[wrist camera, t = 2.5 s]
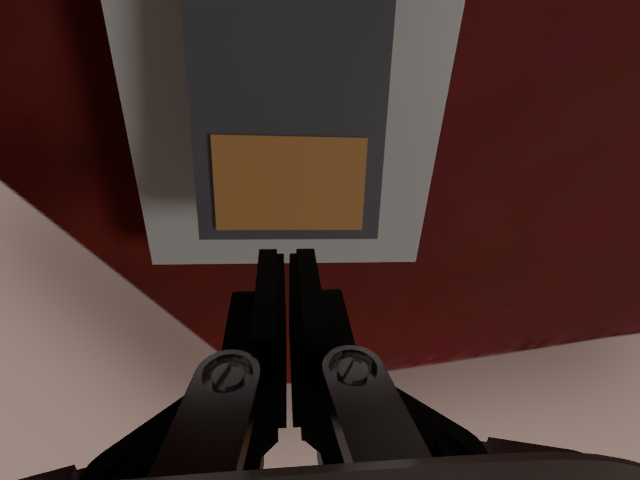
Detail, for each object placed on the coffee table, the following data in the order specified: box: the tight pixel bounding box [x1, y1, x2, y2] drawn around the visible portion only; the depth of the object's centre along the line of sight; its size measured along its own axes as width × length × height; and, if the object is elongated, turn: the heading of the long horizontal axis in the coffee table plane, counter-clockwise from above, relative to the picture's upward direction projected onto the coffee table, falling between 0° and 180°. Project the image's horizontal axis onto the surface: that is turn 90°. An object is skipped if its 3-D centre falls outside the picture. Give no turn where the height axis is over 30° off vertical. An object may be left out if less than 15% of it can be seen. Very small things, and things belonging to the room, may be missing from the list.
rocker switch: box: [180, 0, 396, 240], centre depth 16 cm, size 14×8×2 cm, turn 177°
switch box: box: [101, 0, 465, 264], centre depth 19 cm, size 22×16×6 cm
